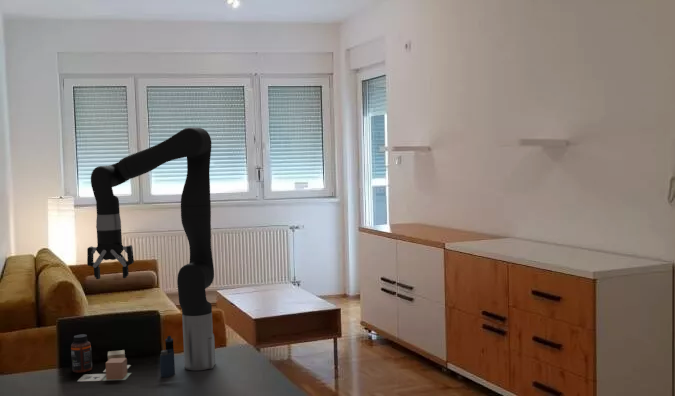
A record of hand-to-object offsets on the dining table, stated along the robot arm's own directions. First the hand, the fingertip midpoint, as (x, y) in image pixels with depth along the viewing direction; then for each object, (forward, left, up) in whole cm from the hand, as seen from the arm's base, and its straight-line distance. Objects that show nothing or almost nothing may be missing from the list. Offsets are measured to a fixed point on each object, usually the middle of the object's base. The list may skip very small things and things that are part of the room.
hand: (111, 278), depth 245 cm
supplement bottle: (+9, +6, -28) cm, 30 cm away
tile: (-2, +6, -28) cm, 29 cm away
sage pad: (-5, +15, -28) cm, 32 cm away
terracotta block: (-5, +15, -28) cm, 32 cm away
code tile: (+3, +15, -28) cm, 32 cm away
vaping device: (-20, +15, -28) cm, 38 cm away
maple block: (-2, +6, -28) cm, 28 cm away
